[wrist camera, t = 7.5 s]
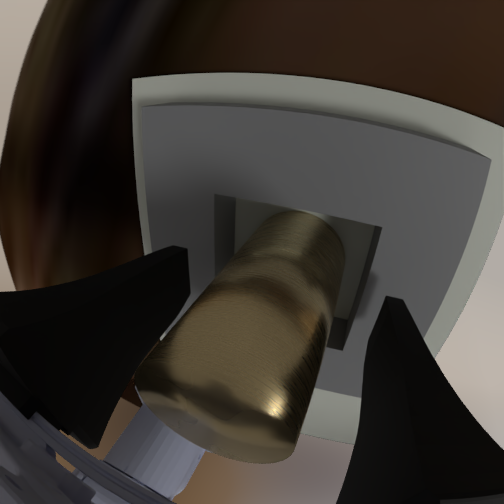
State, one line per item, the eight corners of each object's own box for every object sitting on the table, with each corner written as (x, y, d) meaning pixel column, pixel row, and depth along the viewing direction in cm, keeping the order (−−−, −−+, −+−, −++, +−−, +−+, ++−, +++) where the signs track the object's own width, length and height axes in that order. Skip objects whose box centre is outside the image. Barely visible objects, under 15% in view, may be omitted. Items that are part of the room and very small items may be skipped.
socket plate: (367, 438, 19) (362, 468, 17) (177, 383, 23) (160, 407, 21) (513, 133, 8) (548, 146, 5) (143, 78, 12) (100, 81, 9)
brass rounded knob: (334, 305, 13) (281, 476, 6) (249, 284, 14) (152, 425, 8) (354, 222, 11) (312, 408, 4) (254, 202, 12) (116, 334, 6)
